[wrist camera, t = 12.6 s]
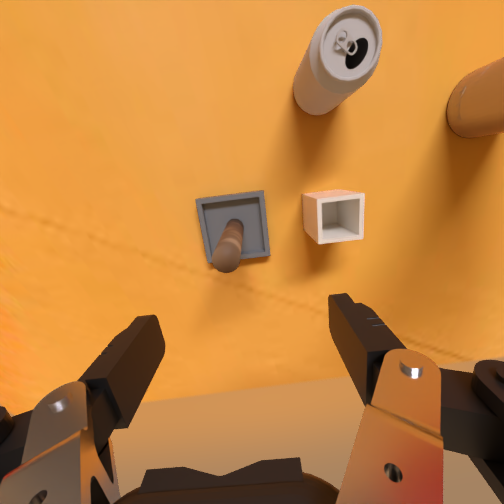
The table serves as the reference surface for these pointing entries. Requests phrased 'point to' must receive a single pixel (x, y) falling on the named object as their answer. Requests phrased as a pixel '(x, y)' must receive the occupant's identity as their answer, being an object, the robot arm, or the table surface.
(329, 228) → the cup
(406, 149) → the table surface
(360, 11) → the can
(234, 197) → the tray
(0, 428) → the robot arm
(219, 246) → the dowel
